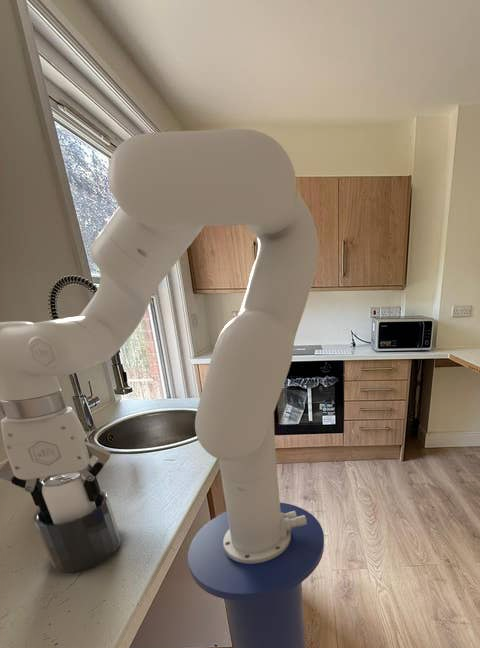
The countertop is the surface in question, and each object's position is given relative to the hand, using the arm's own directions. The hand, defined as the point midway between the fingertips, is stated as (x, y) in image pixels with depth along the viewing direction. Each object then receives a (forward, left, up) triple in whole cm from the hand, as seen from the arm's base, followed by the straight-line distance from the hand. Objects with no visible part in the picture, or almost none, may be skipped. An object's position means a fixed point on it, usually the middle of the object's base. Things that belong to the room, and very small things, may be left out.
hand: (70, 501), depth 61 cm
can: (0, 0, -7) cm, 7 cm away
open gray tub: (0, 0, -11) cm, 11 cm away
